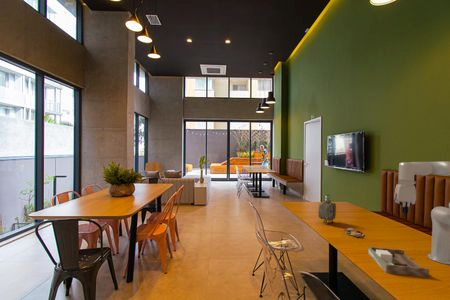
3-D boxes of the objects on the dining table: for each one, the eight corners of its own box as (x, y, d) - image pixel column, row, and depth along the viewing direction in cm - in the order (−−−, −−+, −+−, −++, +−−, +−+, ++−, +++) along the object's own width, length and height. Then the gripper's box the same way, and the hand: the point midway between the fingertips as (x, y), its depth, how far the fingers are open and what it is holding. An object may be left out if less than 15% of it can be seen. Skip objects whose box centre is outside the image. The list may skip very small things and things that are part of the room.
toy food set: (358, 239, 177) (358, 234, 177) (340, 233, 188) (340, 229, 188) (366, 235, 185) (366, 231, 185) (349, 230, 196) (349, 226, 195)
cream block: (386, 257, 143) (387, 250, 143) (392, 262, 137) (392, 255, 137) (375, 256, 144) (375, 249, 144) (380, 260, 138) (380, 253, 138)
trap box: (403, 256, 149) (403, 250, 149) (428, 277, 126) (429, 269, 126) (367, 253, 153) (368, 246, 153) (386, 272, 129) (386, 265, 129)
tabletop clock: (327, 226, 204) (328, 196, 204) (317, 223, 211) (318, 194, 210) (335, 222, 214) (336, 194, 213) (325, 220, 220) (326, 192, 220)
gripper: (415, 182, 150) (414, 212, 150) (389, 181, 152) (388, 210, 152) (423, 184, 142) (422, 215, 143) (395, 183, 145) (394, 213, 145)
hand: (404, 213), depth 148 cm, fingers closed
